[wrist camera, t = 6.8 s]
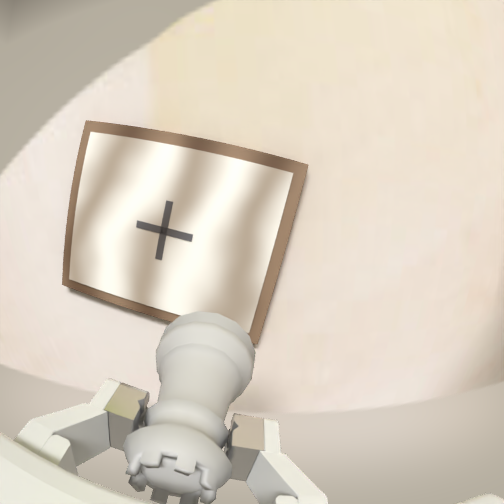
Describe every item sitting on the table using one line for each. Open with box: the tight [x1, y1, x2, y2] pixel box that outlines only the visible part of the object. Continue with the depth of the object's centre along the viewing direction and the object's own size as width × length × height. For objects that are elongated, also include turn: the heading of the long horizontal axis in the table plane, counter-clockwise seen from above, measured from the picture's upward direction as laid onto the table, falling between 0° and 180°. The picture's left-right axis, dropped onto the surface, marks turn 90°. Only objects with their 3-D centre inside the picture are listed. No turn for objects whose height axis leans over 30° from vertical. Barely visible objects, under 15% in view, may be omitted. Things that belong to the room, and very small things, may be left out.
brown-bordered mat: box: [62, 120, 308, 344], centre depth 26 cm, size 20×16×1 cm
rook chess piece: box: [123, 311, 255, 504], centre depth 10 cm, size 4×4×8 cm
